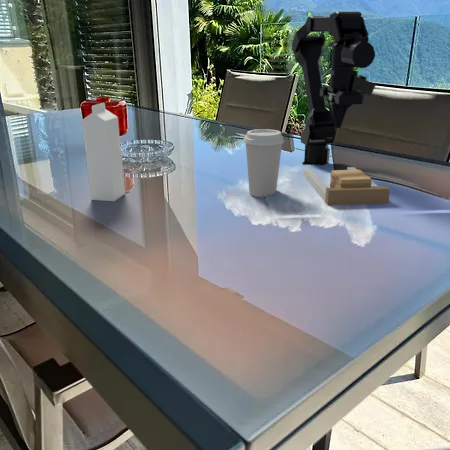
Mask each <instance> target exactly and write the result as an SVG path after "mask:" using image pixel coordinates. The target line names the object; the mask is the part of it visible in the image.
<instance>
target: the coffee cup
mask: <svg viewBox="0 0 450 450" xmlns="http://www.w3.org/2000/svg"><path fill="white" fill-rule="evenodd" d="M243 143H245V151H246V166H247V176H248V177H247V178H248V191H249V195H250V196H252V197H256V198H261V199H262V198H266V196H271V195H274V194H276V193H277V187H278V181H279V179H278V178H279V171H280V170H279V169H280V162H281V153H282V146H283V143H285V139H284V136H283V135H282V132H281V130H276V129H268V128H267V129H266V128H265V129H264V128H261V129H260V128H259V129H251V130H248V131H247V132H246V134H245V136H244V138H243Z"/></svg>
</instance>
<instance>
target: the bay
mask: <svg viewBox="0 0 450 450" xmlns="http://www.w3.org/2000/svg"><path fill="white" fill-rule="evenodd" d="M346 170H358V168H356V167H355V166H350V167H349V166H348V167H346ZM302 176H303V177H304V178H305V180H306V181H307V182H308V183H309V184H310V186H311V187H312V189H314V191H315V192H316V193H317V194H318V196H319V197H320V198H321V199H322V201H323V202H324V203H325V204H326V206H339V205H341V206H342V205H345V206H346V205H375V204H389V201H390V200H389V199H390V193H391V188H390V187H388V186H387V185H378V184H376V183H375V182H374V181H371V186H369V187H336V188H330V187H329V186H327V184H326V183H325V182H324V181H323V180H322V178H321V177H320V176H318V174H316V172H315V171H314V170H313V169H312V167H309V168H306V167H305V168H303V173H302Z"/></svg>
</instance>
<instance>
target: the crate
mask: <svg viewBox="0 0 450 450" xmlns="http://www.w3.org/2000/svg"><path fill="white" fill-rule="evenodd" d="M372 180H373V179H372V178H371V177H370V176H369V175H367V174H365V172H363V171H362V170H361V169H357V170H347V169H336V170H334V169H332V170H331V172H330V183H329V188H336V187H369V186H371V181H372ZM372 182H373V181H372Z"/></svg>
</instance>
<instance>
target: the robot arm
mask: <svg viewBox="0 0 450 450" xmlns="http://www.w3.org/2000/svg"><path fill="white" fill-rule="evenodd" d="M362 15H363V14H362V13H361V12H360V11H335V12H333V13H332V12H331V14H329V16H324V15H311V16H309V17H307V18H306V21H305V24H303V25H302V26H301V27H300V28H299V29H298V30H296V32H295V35H294V37H293V40H292V43H291V51H292V52H293V55H294V60H295V62H297V64H299V66H301V69H302V75H303V81H304V88H305V93H306V94H305V95H306V100H307V106H308V107H307V108H308V115H307V118H306V120H305V122H304V124H305V125H304V126H305V127H304V128H303V130H302V132H301V133H300V143H302V144H303V145H304V161H303V162H302V165H304V166H305V165H306V166H308V165H311V166H312V165H315V166H325V165H327V164H329V161H330V154H331V153H330V151H331V148H329V145H333V144H334V142H335V138H336V134H337V130H338V129H341V126H342V123H343V122H344V119H345V116H346V114H347V111H348V109H349V108H350V107H352V106H353V105H363V104H364V103H365V102H364V101H365V95H366V96H370V97H371V96H372V94H373V92H374V90H375V88H376V85H377V84H376V83H375V82H372V81H370V80H367V76H364V75H361V74H358V70H356V69H355V68H357V69H366V68H368V67H370V65H372V63H373V62H374V60H375V57H376V51H375V48H374V45H373V44H371V43H370V42H369V39H370V38H369V32H368V29H367V25H366V23H365V20H364V17H363V16H362ZM312 32H314V33H315V32H317V33H319V32H320V34H319V35H314V34H313V35H311V34H310V33H312ZM325 32H326V33H328V35H329V36H332V37H333V40H332V41H331V43H330V47H332V53H331V67H330V69H328V75H330V80H329V81H330V82H329V85H325V84H324V85H323V81H322V78H321V70H320V66H319V65H320V64H319V61H320V57H321V56H322V54H323V47H324V45H325V43H326V37H325ZM325 96H326V97H328V99H325ZM326 105H327V107H326Z"/></svg>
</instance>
